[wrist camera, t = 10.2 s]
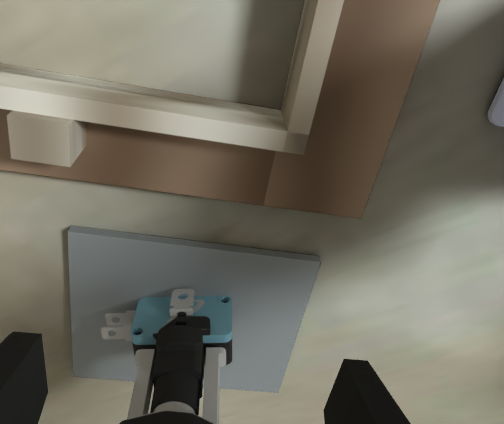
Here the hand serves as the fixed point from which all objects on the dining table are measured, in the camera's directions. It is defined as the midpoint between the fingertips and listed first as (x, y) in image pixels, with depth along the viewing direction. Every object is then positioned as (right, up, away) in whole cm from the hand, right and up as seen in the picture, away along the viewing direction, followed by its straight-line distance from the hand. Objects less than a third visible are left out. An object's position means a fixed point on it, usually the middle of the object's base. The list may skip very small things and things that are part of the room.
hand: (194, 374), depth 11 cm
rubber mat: (-2, -2, +13) cm, 13 cm away
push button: (-3, -1, +12) cm, 12 cm away
